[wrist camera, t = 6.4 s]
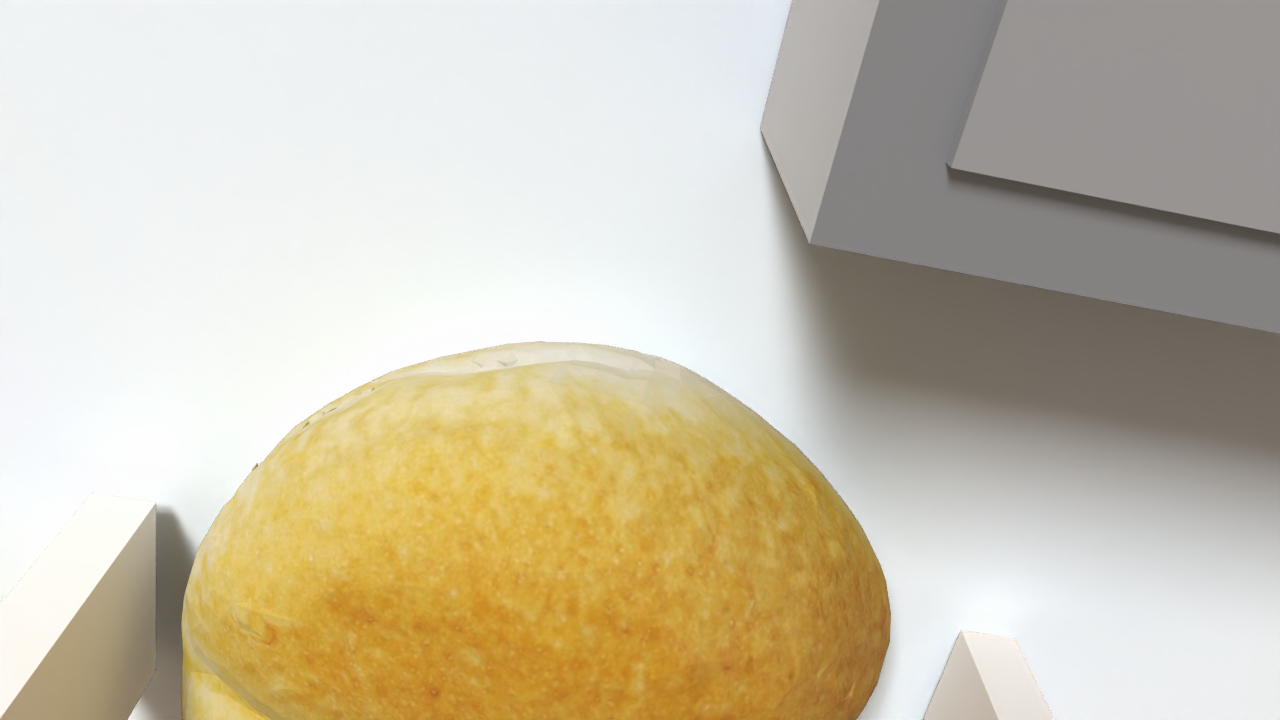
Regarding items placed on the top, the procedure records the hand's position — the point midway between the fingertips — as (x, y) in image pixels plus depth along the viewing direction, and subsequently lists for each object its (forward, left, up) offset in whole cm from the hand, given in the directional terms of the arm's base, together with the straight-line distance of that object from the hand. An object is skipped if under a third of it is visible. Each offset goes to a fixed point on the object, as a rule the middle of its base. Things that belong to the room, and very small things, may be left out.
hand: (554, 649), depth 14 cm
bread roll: (0, 0, -1) cm, 1 cm away
